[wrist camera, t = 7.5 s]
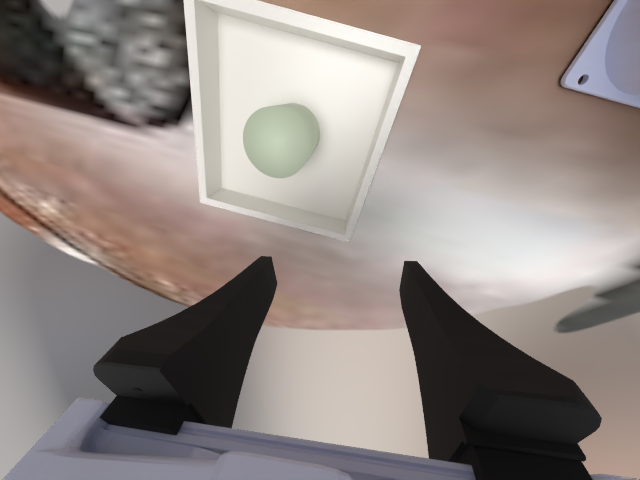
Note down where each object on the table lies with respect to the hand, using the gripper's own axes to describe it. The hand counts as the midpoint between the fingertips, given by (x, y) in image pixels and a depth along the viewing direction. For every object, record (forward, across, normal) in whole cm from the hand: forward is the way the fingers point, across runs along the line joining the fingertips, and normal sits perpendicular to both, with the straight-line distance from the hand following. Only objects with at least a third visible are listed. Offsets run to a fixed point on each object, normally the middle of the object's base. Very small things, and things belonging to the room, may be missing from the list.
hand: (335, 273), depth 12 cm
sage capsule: (+9, +4, -6) cm, 12 cm away
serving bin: (+10, +4, -6) cm, 12 cm away
